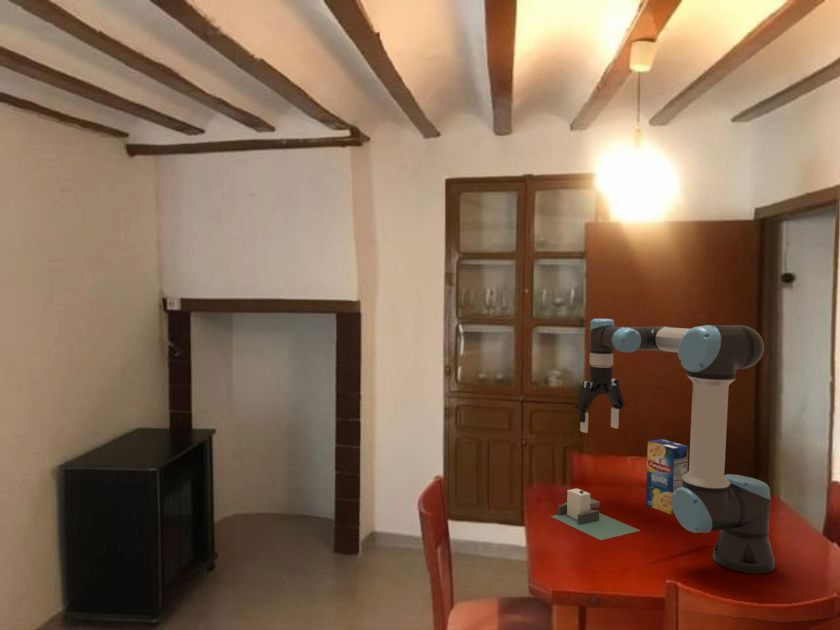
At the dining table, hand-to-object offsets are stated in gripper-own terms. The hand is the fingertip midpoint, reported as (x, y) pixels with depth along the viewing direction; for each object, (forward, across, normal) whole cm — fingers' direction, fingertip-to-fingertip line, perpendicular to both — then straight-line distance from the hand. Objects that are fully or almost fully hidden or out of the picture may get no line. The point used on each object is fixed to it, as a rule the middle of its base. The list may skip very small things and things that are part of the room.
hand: (599, 429), depth 224 cm
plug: (+25, +14, +6) cm, 29 cm away
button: (+27, +4, -2) cm, 27 cm away
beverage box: (+27, -21, +10) cm, 36 cm away
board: (+27, +13, +12) cm, 32 cm away
